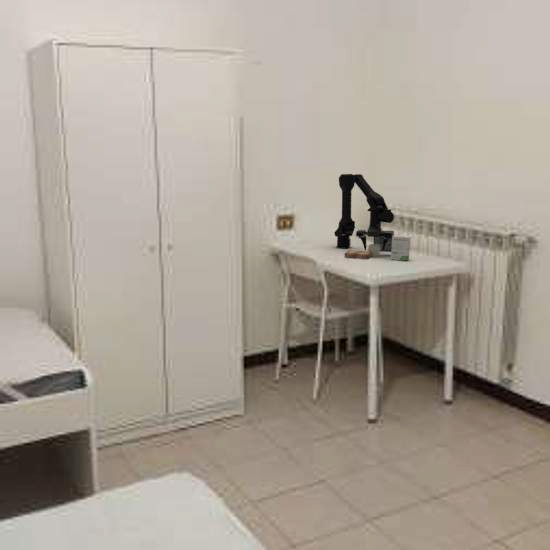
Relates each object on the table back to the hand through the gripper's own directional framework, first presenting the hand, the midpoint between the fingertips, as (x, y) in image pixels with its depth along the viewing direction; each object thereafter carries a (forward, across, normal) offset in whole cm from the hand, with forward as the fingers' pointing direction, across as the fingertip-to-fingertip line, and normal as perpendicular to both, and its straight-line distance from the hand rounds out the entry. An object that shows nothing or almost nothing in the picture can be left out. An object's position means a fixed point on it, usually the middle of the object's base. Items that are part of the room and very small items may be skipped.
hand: (374, 250), depth 366 cm
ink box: (+2, +15, -9) cm, 18 cm away
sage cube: (+2, 0, 0) cm, 2 cm away
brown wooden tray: (+2, -6, -10) cm, 12 cm away
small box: (+2, +2, +14) cm, 14 cm away
